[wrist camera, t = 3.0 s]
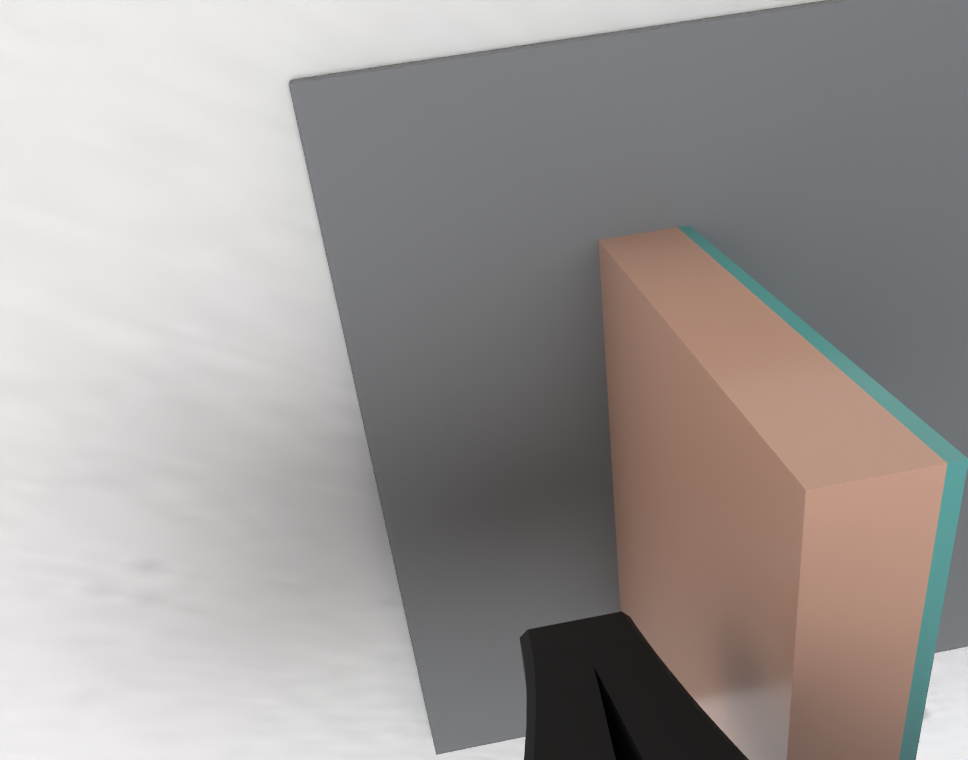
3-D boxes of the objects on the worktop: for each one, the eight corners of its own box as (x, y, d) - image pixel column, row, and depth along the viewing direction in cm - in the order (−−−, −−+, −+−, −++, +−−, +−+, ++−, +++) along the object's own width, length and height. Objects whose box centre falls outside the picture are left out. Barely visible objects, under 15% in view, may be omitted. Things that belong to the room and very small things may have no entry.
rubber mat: (1429, -89, 13) (1459, -89, 13) (1190, 586, 20) (1205, 597, 20) (290, 79, 12) (288, 84, 12) (434, 739, 19) (435, 754, 18)
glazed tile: (689, 225, 14) (967, 459, 8) (691, 600, 17) (879, 961, 11) (598, 240, 14) (805, 490, 7) (620, 614, 17) (770, 986, 11)
